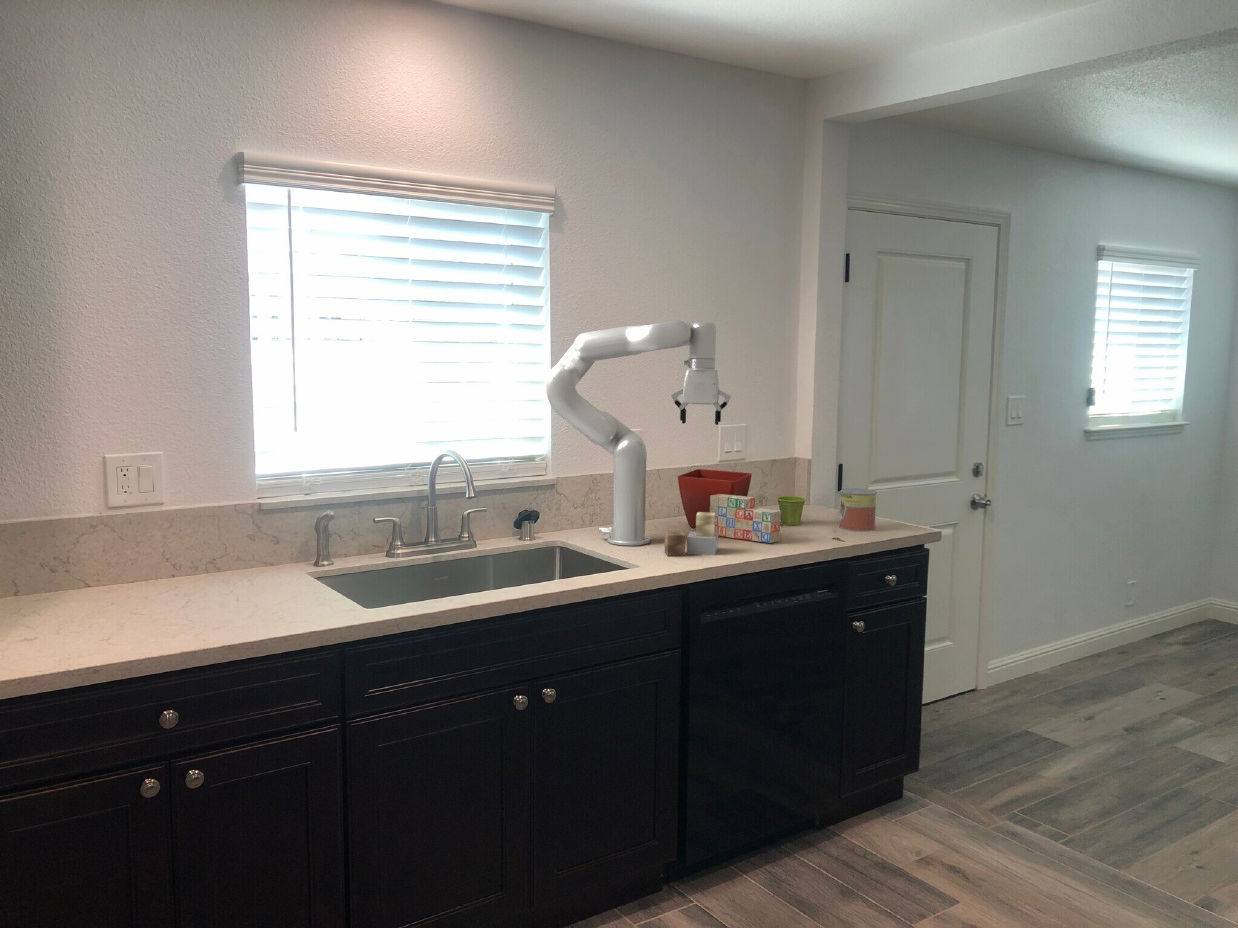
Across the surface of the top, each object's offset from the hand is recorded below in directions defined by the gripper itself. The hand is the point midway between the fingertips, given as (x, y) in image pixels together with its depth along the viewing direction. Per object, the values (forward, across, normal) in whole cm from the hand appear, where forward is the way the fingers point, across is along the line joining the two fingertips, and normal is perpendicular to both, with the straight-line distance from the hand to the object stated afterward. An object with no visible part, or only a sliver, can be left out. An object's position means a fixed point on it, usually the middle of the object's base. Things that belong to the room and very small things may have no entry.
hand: (700, 423), depth 274 cm
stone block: (+36, +3, -12) cm, 37 cm away
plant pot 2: (+35, +27, +35) cm, 56 cm away
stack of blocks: (+35, +13, +9) cm, 39 cm away
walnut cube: (+35, -4, -18) cm, 40 cm away
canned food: (+35, +48, +34) cm, 68 cm away
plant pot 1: (+35, +2, +26) cm, 44 cm away
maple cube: (+31, +4, -12) cm, 33 cm away
